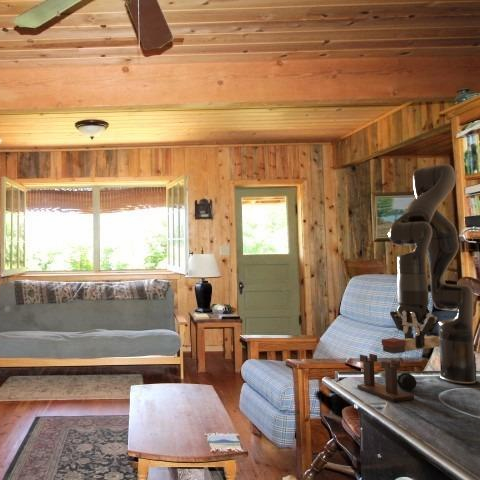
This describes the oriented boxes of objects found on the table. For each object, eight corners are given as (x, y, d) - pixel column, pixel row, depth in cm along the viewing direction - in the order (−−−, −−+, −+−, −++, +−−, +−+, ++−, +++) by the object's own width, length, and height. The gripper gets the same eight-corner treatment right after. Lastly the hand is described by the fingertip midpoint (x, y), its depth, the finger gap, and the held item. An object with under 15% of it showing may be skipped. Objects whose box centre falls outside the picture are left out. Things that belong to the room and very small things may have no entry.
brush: (429, 344, 125) (429, 333, 126) (442, 347, 122) (441, 335, 122) (381, 351, 119) (381, 339, 119) (393, 353, 116) (393, 341, 116)
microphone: (377, 383, 149) (406, 394, 129) (370, 367, 150) (398, 376, 130) (392, 378, 148) (423, 389, 129) (385, 363, 149) (415, 371, 130)
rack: (356, 388, 135) (355, 355, 135) (375, 385, 137) (374, 353, 137) (393, 402, 122) (392, 365, 122) (414, 399, 124) (412, 363, 125)
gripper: (446, 289, 116) (448, 351, 116) (398, 286, 129) (401, 341, 129) (427, 291, 114) (430, 353, 113) (381, 287, 127) (383, 343, 126)
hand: (414, 346), depth 121 cm, fingers closed on brush, 2 cm apart
